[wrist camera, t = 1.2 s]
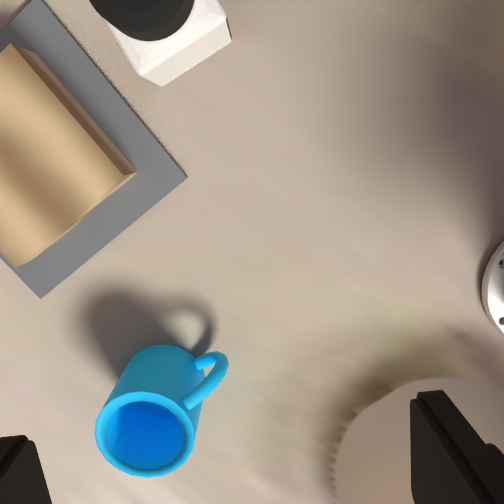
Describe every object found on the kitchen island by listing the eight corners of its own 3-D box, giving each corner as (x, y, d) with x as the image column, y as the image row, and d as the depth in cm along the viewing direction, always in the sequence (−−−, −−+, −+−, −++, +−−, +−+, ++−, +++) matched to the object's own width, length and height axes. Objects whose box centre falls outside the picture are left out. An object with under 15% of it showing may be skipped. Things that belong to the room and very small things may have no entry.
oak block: (37, 54, 35) (10, 43, 31) (137, 172, 37) (123, 176, 33) (-61, 148, 37) (-99, 150, 33) (39, 255, 39) (16, 268, 35)
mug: (157, 430, 45) (136, 493, 37) (107, 371, 43) (73, 424, 35) (253, 371, 43) (252, 424, 35) (204, 307, 41) (192, 348, 33)
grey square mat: (40, -3, 34) (37, -5, 34) (187, 177, 38) (186, 177, 37) (-106, 142, 37) (-112, 143, 37) (43, 296, 41) (40, 299, 40)
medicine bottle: (233, 41, 35) (222, -7, 23) (160, 88, 36) (114, 65, 24) (186, -46, 33) (149, -143, 22) (111, 6, 34) (37, -60, 23)
